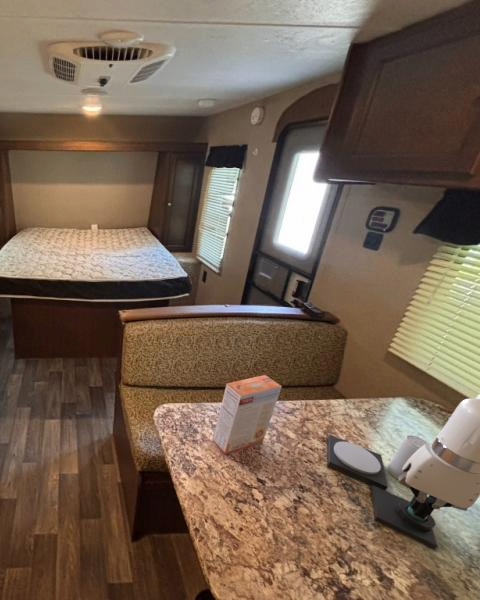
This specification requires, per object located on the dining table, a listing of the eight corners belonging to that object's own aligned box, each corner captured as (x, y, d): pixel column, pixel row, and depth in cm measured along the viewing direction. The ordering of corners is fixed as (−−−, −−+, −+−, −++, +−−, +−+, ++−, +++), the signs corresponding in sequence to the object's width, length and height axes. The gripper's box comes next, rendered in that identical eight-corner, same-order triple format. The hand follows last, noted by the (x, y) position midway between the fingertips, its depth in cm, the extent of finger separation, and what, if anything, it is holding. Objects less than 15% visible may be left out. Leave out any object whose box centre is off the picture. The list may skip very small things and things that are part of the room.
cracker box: (247, 428, 98) (265, 373, 90) (263, 443, 93) (284, 386, 84) (210, 438, 94) (226, 381, 85) (224, 455, 88) (242, 396, 80)
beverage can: (386, 464, 88) (406, 431, 83) (410, 475, 85) (432, 442, 80) (385, 474, 85) (405, 441, 80) (410, 487, 82) (432, 453, 77)
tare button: (422, 515, 73) (425, 510, 72) (425, 526, 71) (428, 521, 70) (404, 507, 74) (407, 503, 74) (407, 517, 72) (410, 513, 72)
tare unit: (423, 512, 76) (429, 504, 74) (434, 549, 68) (441, 541, 67) (369, 488, 81) (374, 480, 80) (374, 520, 73) (379, 512, 72)
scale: (378, 459, 89) (382, 452, 88) (384, 492, 80) (389, 484, 79) (326, 439, 95) (329, 432, 94) (326, 466, 86) (330, 459, 85)
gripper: (506, 461, 64) (458, 519, 71) (406, 426, 71) (372, 481, 79) (524, 489, 58) (470, 549, 65) (413, 448, 66) (376, 505, 73)
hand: (417, 512), depth 72 cm, fingers closed
